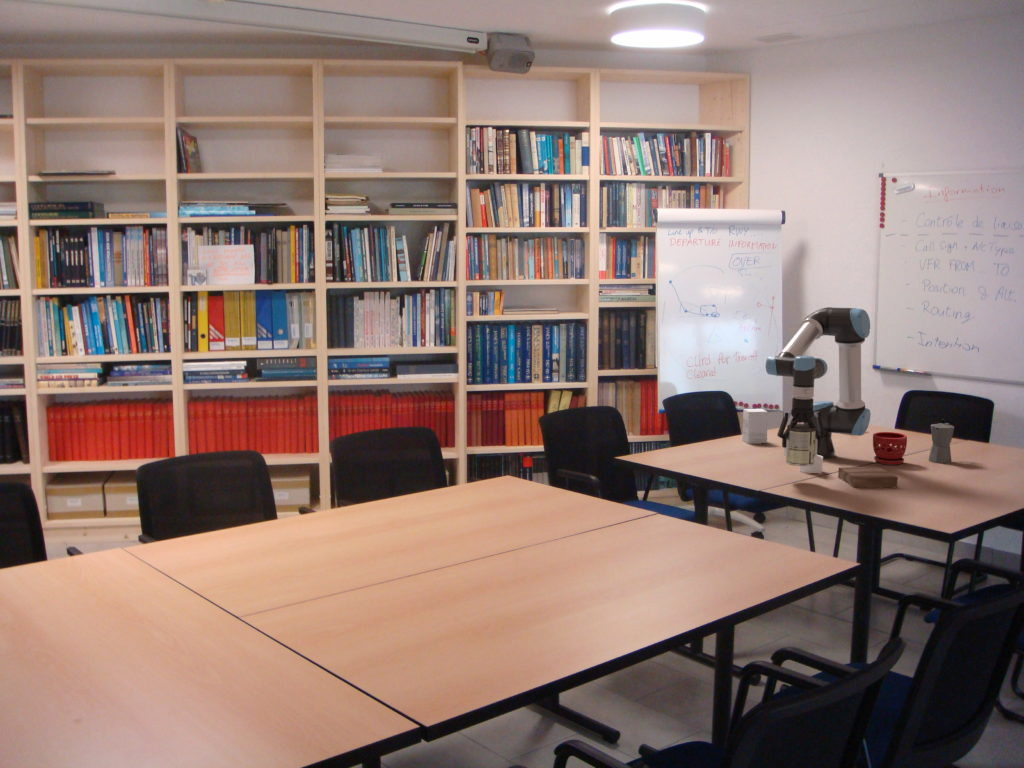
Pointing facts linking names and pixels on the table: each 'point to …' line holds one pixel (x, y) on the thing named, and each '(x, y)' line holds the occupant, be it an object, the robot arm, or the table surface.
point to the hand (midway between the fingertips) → (800, 455)
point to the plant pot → (889, 447)
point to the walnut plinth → (867, 477)
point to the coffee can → (801, 445)
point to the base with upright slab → (813, 466)
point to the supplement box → (755, 426)
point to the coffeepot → (941, 442)
